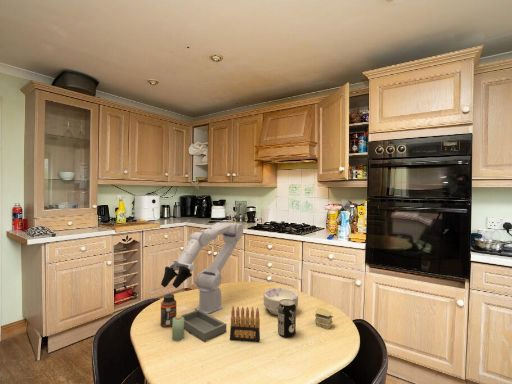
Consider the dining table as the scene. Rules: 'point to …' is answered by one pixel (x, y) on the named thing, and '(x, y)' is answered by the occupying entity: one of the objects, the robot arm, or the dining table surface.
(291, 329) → the beverage can
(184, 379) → the dining table surface
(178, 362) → the dining table surface
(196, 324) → the trough
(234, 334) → the ammunition clip
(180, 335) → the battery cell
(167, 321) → the supplement bottle
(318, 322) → the layered tan block
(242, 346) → the dining table surface
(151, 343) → the dining table surface
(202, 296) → the robot arm
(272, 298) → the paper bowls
